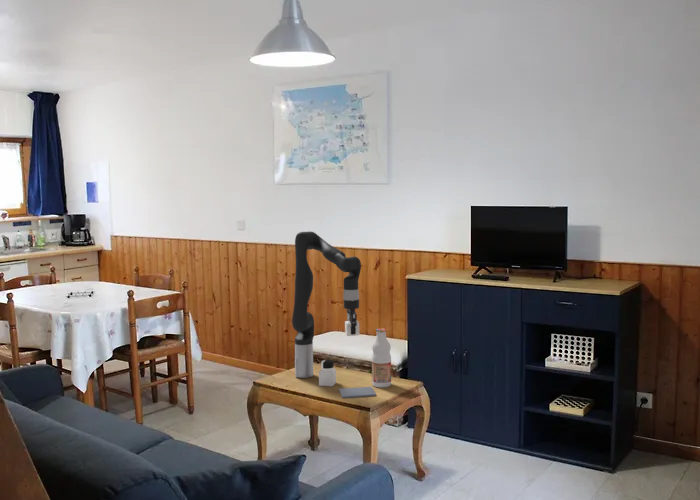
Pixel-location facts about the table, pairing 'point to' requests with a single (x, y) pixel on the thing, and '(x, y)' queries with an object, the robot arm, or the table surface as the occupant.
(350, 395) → the slate mat
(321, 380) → the medicine bottle
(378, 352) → the white plastic bottle
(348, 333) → the letter cube
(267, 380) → the table surface
